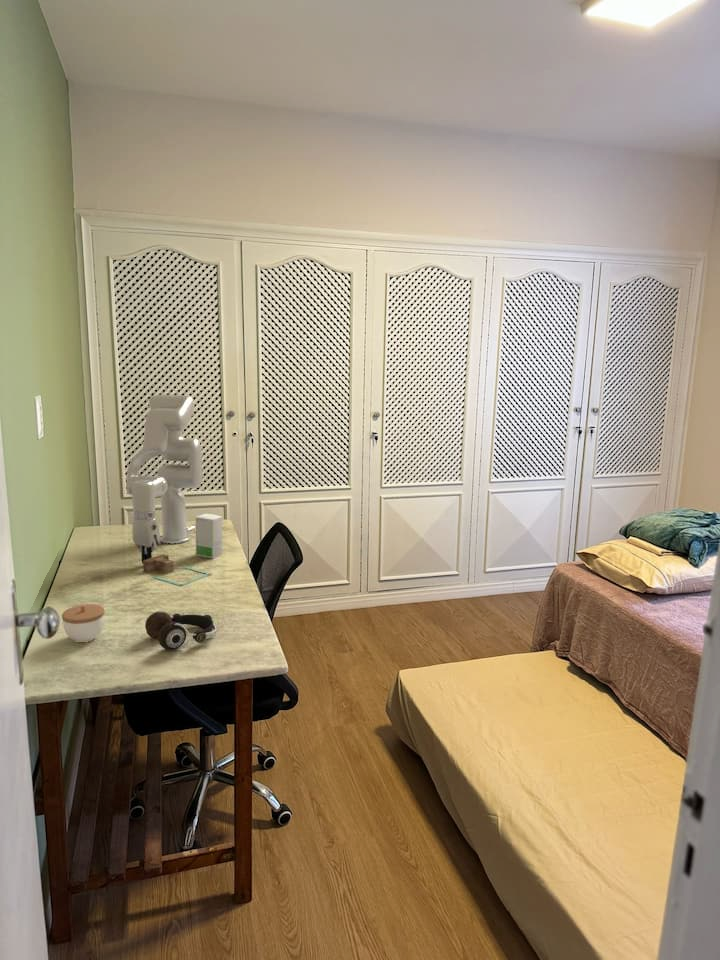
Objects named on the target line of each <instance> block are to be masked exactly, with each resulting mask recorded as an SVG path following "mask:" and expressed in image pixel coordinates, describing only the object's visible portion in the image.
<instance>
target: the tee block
mask: <svg viewBox="0 0 720 960" xmlns="http://www.w3.org/2000/svg"><path fill="white" fill-rule="evenodd" d="M169 556H170V555H168V554H164V553H161V554H160V555H157V556H152V558H149V559H146V560H143V564H142V569H143V572H144V571H145V573H147V574H151V573H153V572H160V573H163V572H164V573H163V574H166V573H167V575H169V574H170V573H174V572H175V564H174V560H171V559H169V558H170V557H169ZM173 571H174V572H173ZM150 572H151V573H150ZM168 573H169V574H168Z"/></svg>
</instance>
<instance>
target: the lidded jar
mask: <svg viewBox="0 0 720 960" xmlns="http://www.w3.org/2000/svg"><path fill="white" fill-rule="evenodd" d="M105 612H106V611H105V608H104V607H103V606H102V605H99V604H88V603H87V604H82V605H81V604H80V605H79V604H78V605H75V606H72V607H70V608H67V609H65V610H64V611H63V613H62V614H61V619H62V625H63V626H62V627H63V629H64V632H65V635H67V636H68V638H69V639H71V640H72V641H73V640H74V641H77V642H86V641H90V642H92V641H91V640H93V639H95V638H96V637H97V638H98V636H99V635H100V634H101V632H102V631H103V629H104V625H105ZM97 638H96V639H97ZM96 639H95V640H96ZM74 641H73V642H74ZM93 641H94V640H93ZM77 642H76V643H77ZM86 643H87V642H86Z"/></svg>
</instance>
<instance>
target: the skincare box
mask: <svg viewBox="0 0 720 960" xmlns="http://www.w3.org/2000/svg"><path fill="white" fill-rule="evenodd" d="M220 554H221V555H222V554H223V516H222V515H217V514H212V513H211V514H210V513H203V514H200V515H196V516H195V556H196V555H197V556H196V557H201V556H203V557H202V558H207V557H210V558H209V559H212V558H213V559H215V558H217V557H219V556H221V555H220ZM218 555H219V556H218ZM216 556H217V557H216ZM214 557H215V558H214Z"/></svg>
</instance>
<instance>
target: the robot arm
mask: <svg viewBox="0 0 720 960" xmlns="http://www.w3.org/2000/svg"><path fill="white" fill-rule="evenodd" d="M148 406H149V411H147V413H146V417H145V425H144V434H143V444H142V448H141V449H140V450H139V451H138V452H137V453H136V454H135V456H133V458H132V459H131V461H130V463H129V465H128V467H127V473H126V483H125V485H126V486H125V488H126V491H127V494H128V495H130V496H131V497H132V514H133V515H132V526H131V527H132V533H131V534H132V542H133V543H134V546H136V547H138V549H139V553H140V554H141V564H142V565H143V560H146V559H149V558H152V557H153V556H152V553H153V551H156V550H158V546H159V545H160V544H161V543H162V542H163V544H168V543H170V544H169V545H171V544H175V543H176V544H181V543H182V542H183V543H186V542H188V541H190V540H191V535H190V534H189V533H191V532H193V531H196V526H194V525H193V526H189V527H188V526H187V516H186V515H187V514H186V513H187V511H186V510H187V509H186V497H185V494H184V492H182V490H181V489H197V488H200V486H201V485H202V482H203V481H202V480H203V462H202V461H203V453H202V445H201V443H200V440H199V439H197V438H193V437H192V438H191V437H184V436H183V431H184V430H185V428H186V427H187V426H188V424H189V423H190V421H191V419H192V416H193V414H194V411H195V401H194V399H193V398H192V396H189V395H185V394H184V395H180V394H178V395H177V394H157V395H156V394H155V395H153V396H151V397H150V398H149V401H148ZM158 456H161V457H162V459H163V460H164V461H168V462H187V463H188V464H173V463H171V464H170V463H169V464H163V465H161V466H160V467H159V468H158V470H157V474H156V475H139V472H140V469H141V466H143V465H144V464H145V463H146V462H148V461H149V460H151V459H154V458H156V457H158ZM155 498H160V505H161V506H160V508H161V525H162V526H161V528H162V535H161V534H160V527H159V526H160V525H159V523H158V518H157V517H156V504H155V502H156V501H155V500H156V499H155ZM183 543H182V544H183ZM157 545H158V546H157Z"/></svg>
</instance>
